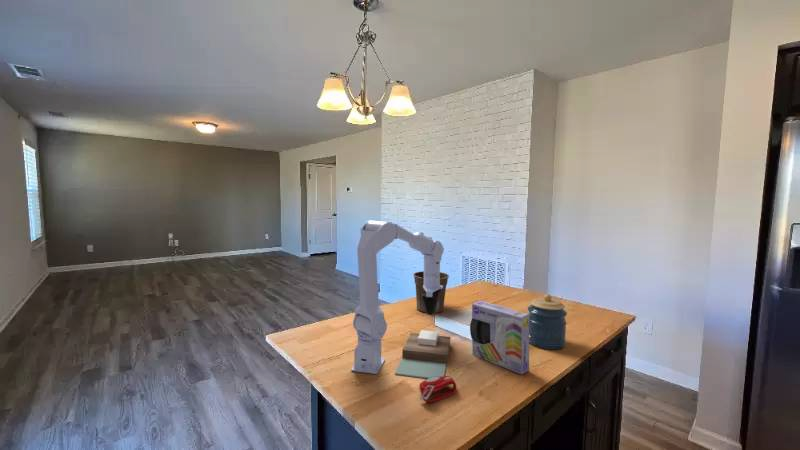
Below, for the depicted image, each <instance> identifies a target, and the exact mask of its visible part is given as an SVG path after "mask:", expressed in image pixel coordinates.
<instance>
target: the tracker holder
mask: <svg viewBox="0 0 800 450" xmlns="http://www.w3.org/2000/svg"><path fill="white" fill-rule="evenodd" d="M455 381H456V380H455V379H454V378H453V377H452V376H449V375H446V376H445V375H444V376H441V377H439V376H435V377H430V378H428V379H426V378H425V380H423V381H422V382H421V383H419V385H418V386H419V389H420V390H421V391H422V393H421V395H420V397H419V399H421V400H423V401H424V402H427V403H436V402H438V401H441V400H442V399H445V398H448V397H450V396H452V395H454V394H455V393H456V391H457V383H456V382H455ZM450 385H453V386H452V388H451V389H450V390H448V391H445V392H444V393H441V394H438V395H436V396H434V397H431V396H432V395H433V393H436V392H438V391H441V390H442V389H444V388H446V387H447V386H450ZM429 397H431V398H429Z"/></svg>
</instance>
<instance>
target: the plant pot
mask: <svg viewBox="0 0 800 450" xmlns="http://www.w3.org/2000/svg"><path fill="white" fill-rule="evenodd" d="M412 275H413V278H414V284H415V295H416V296H415V297H416V298H415V299H416V300H415V301H416V309H417V310H418V311H420V312H423V313H427V312H426V307H425V303H424V301H423V299H422V294H426V291H425V290H424V288H423V285H424V270H423V271H416V272H414V273H413V274H412ZM449 278H450V275H449V274H448V273H445V272H442V271H440V285H442V286H443V289H441V290H440V292H439V294H438V298H437V303H436V307H435V308H434V313H433V314H438V313H441V312H443V311H444V307H445V306H444V305H445V299H446V290H447V285H448V280H449ZM442 310H443V311H442ZM440 311H441V312H440ZM437 312H438V313H437Z"/></svg>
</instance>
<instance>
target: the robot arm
mask: <svg viewBox="0 0 800 450" xmlns="http://www.w3.org/2000/svg"><path fill="white" fill-rule="evenodd" d="M424 234H425V233H424V232H422V231H418V232H411V231H409V230H407V229H405V228H403V227H402V226H400V225H399V224H397V223H394V222H392V221H387V222H386V221H379V220H373V219H371V220H370V219H369V220H367V221H365V222H364V224H363V225H362V226H361V228H360V239H359V241H358V245H357V251H356V252H357V267H358V287H359V288H358V291H359V306H358V307H356V309H355V310H354V318H353V319H352V320H353V321H352V324H353V328H354V330H355V331H356V334H357V345H356V347H355V348H354V353H353V354H354V356H353V357H354V360H353V361H354V364H353V366H352V367H351V370H350V371H352V372H359V373H364V374H372V375H377V374H379V371H380V370H381V368H382V366H383V364H384V362H385V361H386V357H382V338H384V336H385V334H386V332H387V330H388V324H387V321H386V319H385V313H384V311H383V310H382V308H381V306H380V305H379V287H378V266H377V263H378V262H377V254H379V252H380V251H382V249H384V248H386V247H387V246H389V245H390V244H391V243H393V242H394V241H395V240H398V239H399V240H401V241H403V242H406V243H408V245H409V247H410V248H411V249H413V250H415V251H417V252H419V253H421V255H422V256H423V271H424V285H423V288H424V290H425V291H426V294H422V299H423V301H424V303H425V307H426V312H425V313H426V315H429V316H434V314H435V313H434V308H435V307H436V303H437V298H438V294H439V292H440V290H441V289H443V286H442V285H440V272H441V260H442V256H443V254H444V251H445V248H444V244H443V243H442V242H441V241H440V240H434V239H433V237H431V236H426V235H424Z"/></svg>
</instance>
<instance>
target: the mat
mask: <svg viewBox="0 0 800 450" xmlns="http://www.w3.org/2000/svg"><path fill="white" fill-rule="evenodd" d="M446 369H447V364H445V363H437V362H428V361H420V360H412V359H403V358H401V360H400V362H399V363H398V365H397V368H396V370H395V373H394V375H397V376H403V377H405V376H406V377H410V378H411V377H413V378H418V379H425V380H426V379H428V378H430V377H435V376H439V377H441V376H445V374H446Z"/></svg>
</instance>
